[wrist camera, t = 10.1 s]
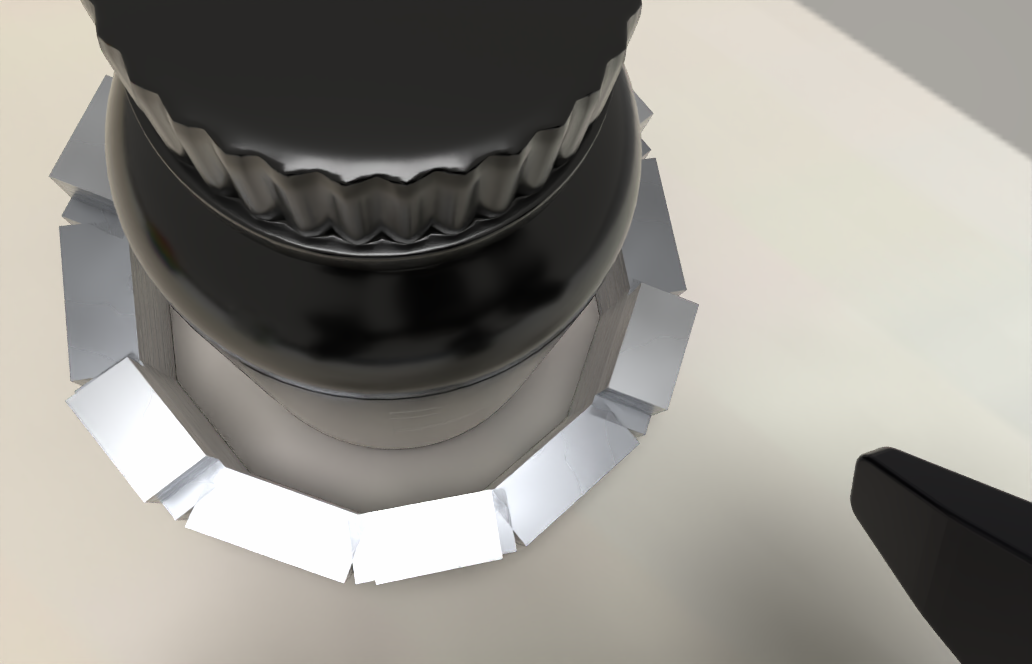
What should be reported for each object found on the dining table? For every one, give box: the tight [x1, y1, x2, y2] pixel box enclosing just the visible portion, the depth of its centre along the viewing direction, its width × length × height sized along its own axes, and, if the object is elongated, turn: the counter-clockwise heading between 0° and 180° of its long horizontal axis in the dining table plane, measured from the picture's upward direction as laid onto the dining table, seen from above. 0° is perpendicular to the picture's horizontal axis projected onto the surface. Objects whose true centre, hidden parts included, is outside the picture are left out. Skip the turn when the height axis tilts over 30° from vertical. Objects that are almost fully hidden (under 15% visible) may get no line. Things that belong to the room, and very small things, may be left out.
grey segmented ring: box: [49, 75, 699, 585], centre depth 16 cm, size 12×12×4 cm
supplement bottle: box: [81, 0, 642, 449], centre depth 12 cm, size 7×7×12 cm
